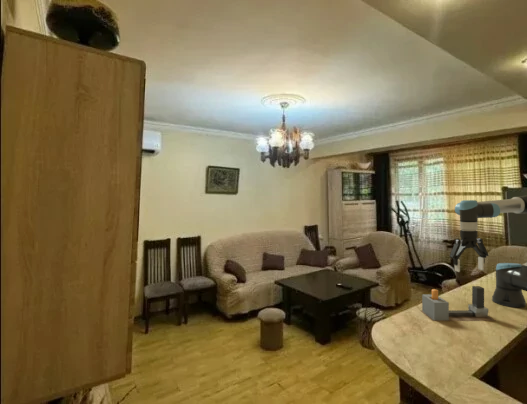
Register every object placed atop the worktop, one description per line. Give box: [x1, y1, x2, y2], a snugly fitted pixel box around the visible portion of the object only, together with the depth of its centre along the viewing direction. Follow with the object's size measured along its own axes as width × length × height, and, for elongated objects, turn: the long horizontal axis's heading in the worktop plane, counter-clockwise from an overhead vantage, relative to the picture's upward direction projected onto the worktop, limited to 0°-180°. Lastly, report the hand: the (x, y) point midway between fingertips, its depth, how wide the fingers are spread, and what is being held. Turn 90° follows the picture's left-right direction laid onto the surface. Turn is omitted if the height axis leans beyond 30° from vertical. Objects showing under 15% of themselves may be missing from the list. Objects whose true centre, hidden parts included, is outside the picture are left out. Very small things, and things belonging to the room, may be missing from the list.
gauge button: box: [431, 288, 439, 300], centre depth 155 cm, size 3×3×8 cm
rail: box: [449, 309, 475, 317], centre depth 154 cm, size 22×3×2 cm, turn 88°
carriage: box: [467, 285, 489, 317], centre depth 154 cm, size 6×6×14 cm
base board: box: [420, 310, 497, 322], centre depth 155 cm, size 31×13×1 cm, turn 88°
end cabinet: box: [421, 293, 450, 320], centre depth 155 cm, size 7×12×9 cm, turn 178°
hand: (469, 270), depth 155 cm, fingers open, 13 cm apart
